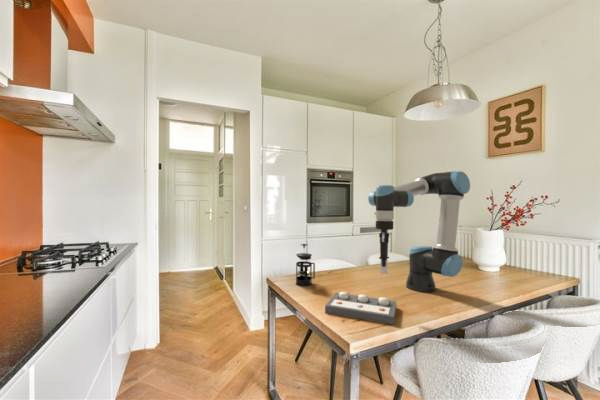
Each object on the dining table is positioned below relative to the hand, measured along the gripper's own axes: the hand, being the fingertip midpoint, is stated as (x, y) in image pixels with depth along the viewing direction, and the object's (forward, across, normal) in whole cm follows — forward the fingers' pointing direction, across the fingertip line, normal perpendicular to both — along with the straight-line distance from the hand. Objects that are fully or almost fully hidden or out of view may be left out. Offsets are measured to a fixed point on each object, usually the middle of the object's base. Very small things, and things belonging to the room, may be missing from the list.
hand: (383, 273), depth 120 cm
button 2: (+15, 0, 0) cm, 15 cm away
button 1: (+15, 0, -18) cm, 23 cm away
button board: (+16, +4, -9) cm, 19 cm away
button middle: (+15, 0, -9) cm, 17 cm away
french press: (+17, -21, -46) cm, 53 cm away
